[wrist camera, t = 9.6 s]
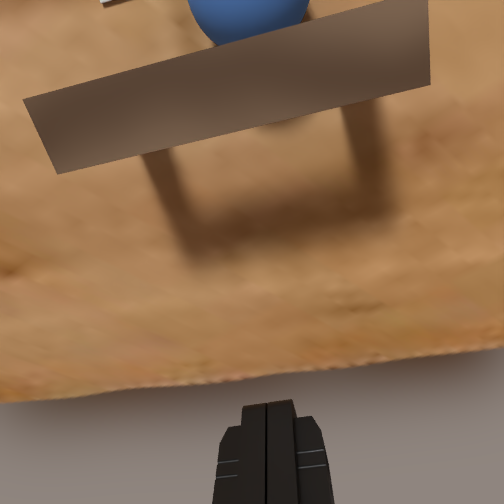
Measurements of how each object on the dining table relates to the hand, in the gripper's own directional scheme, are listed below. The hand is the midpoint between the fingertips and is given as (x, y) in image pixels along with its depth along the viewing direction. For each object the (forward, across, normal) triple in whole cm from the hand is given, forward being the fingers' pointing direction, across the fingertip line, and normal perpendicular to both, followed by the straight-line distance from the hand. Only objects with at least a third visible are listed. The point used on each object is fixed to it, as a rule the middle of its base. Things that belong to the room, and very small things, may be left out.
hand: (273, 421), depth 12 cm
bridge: (+17, 0, -9) cm, 19 cm away
